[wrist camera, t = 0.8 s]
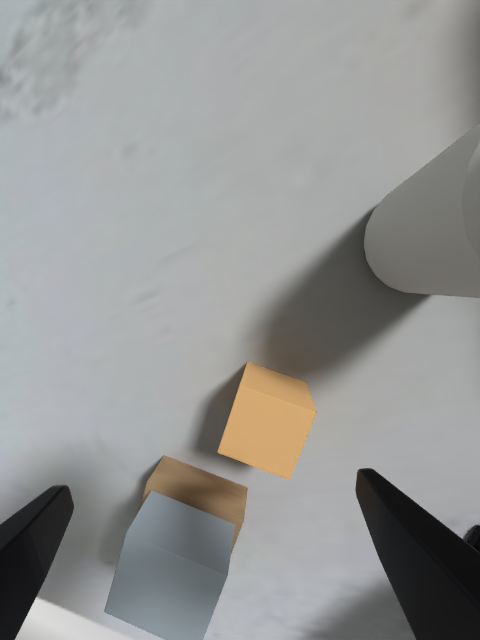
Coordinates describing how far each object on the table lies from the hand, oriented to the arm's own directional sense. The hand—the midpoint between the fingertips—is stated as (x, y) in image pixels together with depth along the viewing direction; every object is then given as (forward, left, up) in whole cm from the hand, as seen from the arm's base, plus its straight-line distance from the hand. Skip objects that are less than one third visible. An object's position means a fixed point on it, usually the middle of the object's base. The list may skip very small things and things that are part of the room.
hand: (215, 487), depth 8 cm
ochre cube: (-2, +3, -13) cm, 14 cm away
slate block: (+1, +15, -10) cm, 18 cm away
